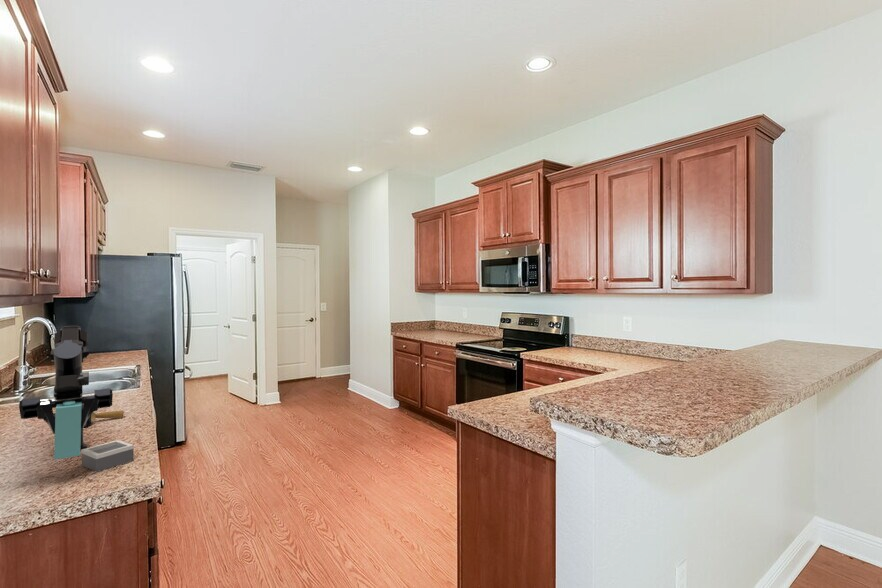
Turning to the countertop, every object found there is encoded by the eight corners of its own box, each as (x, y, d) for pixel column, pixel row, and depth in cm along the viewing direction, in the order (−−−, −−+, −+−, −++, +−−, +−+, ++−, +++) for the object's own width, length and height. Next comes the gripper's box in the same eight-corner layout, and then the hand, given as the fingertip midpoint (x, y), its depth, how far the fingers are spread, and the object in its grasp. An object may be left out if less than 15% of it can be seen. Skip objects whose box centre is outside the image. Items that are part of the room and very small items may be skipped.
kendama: (119, 418, 171) (59, 422, 158) (122, 403, 171) (62, 405, 158) (122, 426, 165) (60, 430, 153) (125, 410, 165) (64, 413, 153)
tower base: (81, 465, 121) (81, 449, 121) (118, 454, 128) (118, 439, 128) (96, 472, 116) (96, 455, 116) (133, 460, 124) (133, 445, 124)
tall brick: (55, 453, 112) (57, 401, 113) (80, 449, 116) (81, 398, 116) (54, 459, 109) (55, 405, 109) (79, 455, 112) (81, 402, 112)
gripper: (19, 367, 109) (14, 420, 101) (111, 359, 121) (114, 406, 113) (23, 392, 115) (19, 445, 107) (110, 382, 127) (113, 429, 119)
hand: (68, 430), depth 111 cm, fingers closed on tall brick, 5 cm apart
